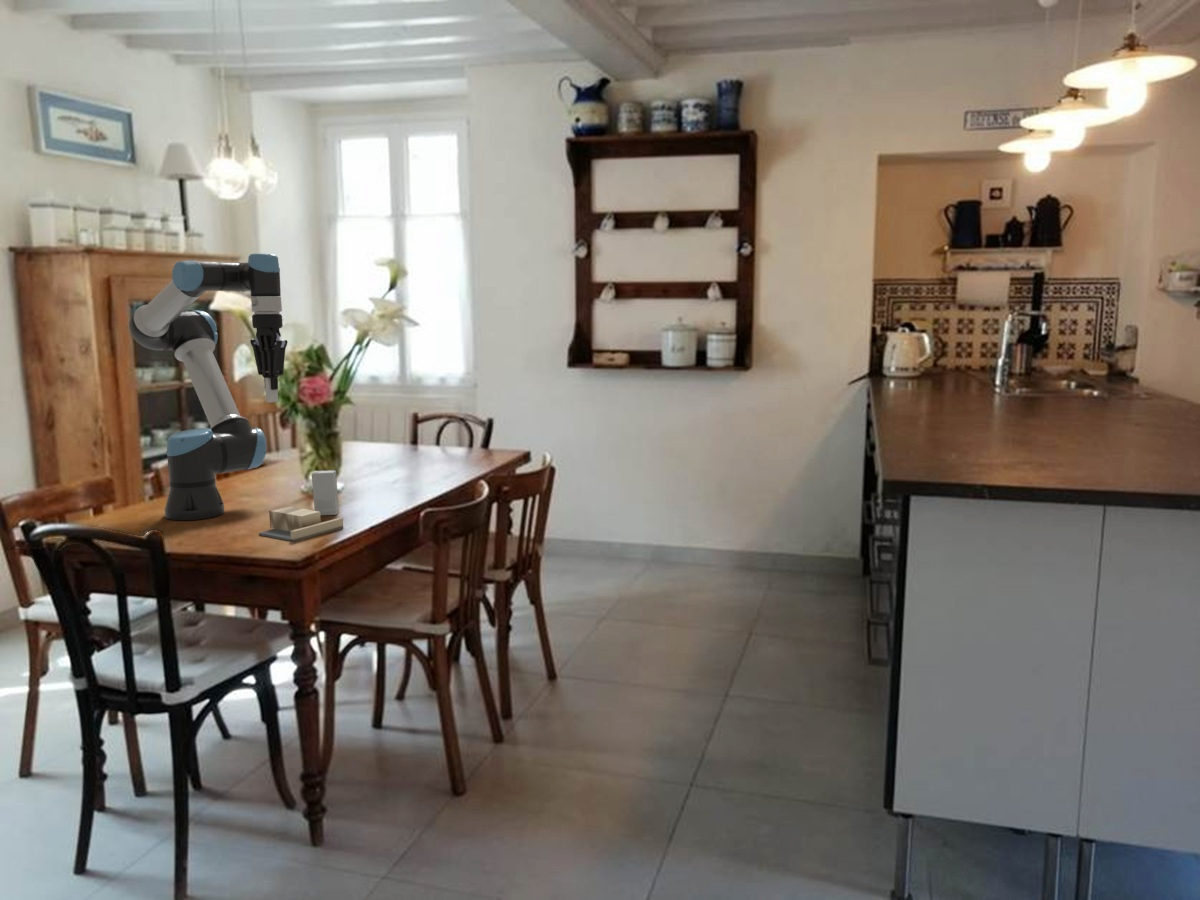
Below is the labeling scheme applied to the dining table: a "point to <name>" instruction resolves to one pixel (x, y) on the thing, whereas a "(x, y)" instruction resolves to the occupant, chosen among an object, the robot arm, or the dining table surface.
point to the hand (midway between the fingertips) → (272, 401)
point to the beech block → (293, 518)
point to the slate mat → (305, 531)
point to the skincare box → (325, 492)
